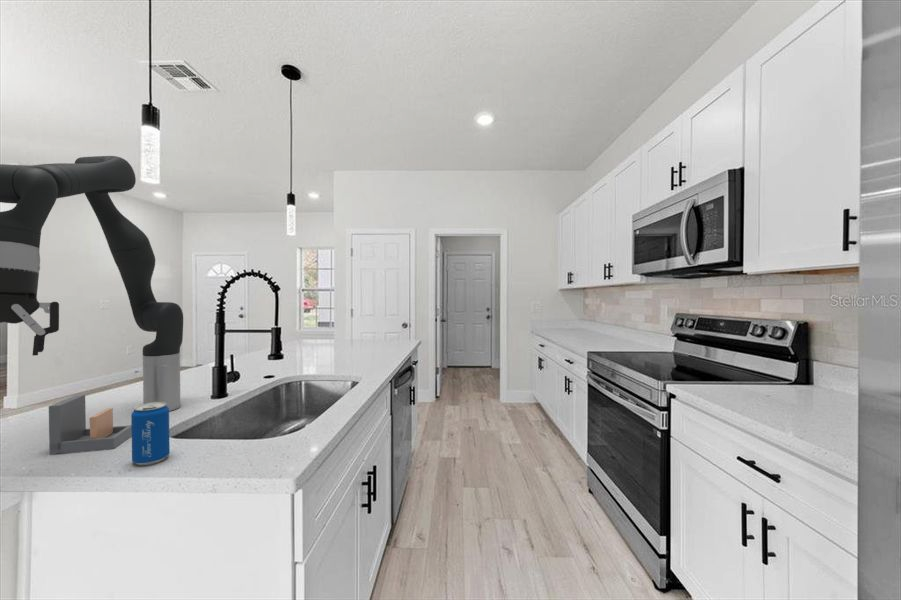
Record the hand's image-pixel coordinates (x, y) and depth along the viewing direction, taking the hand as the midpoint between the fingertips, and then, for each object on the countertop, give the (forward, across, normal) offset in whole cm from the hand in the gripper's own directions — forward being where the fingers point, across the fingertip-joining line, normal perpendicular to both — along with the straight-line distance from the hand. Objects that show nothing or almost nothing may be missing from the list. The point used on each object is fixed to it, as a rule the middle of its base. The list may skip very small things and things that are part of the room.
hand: (0, 356), depth 70 cm
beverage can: (+24, -23, +1) cm, 33 cm away
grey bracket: (+22, -16, -19) cm, 33 cm away
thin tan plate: (+20, -17, -18) cm, 32 cm away
